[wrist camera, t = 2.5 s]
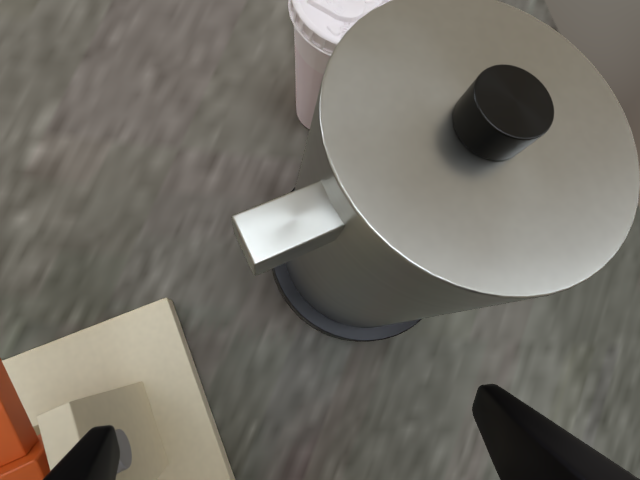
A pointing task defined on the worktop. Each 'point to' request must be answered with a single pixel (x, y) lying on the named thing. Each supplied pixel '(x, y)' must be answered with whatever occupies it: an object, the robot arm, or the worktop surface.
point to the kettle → (447, 172)
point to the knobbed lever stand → (124, 396)
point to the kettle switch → (18, 437)
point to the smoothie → (320, 43)
